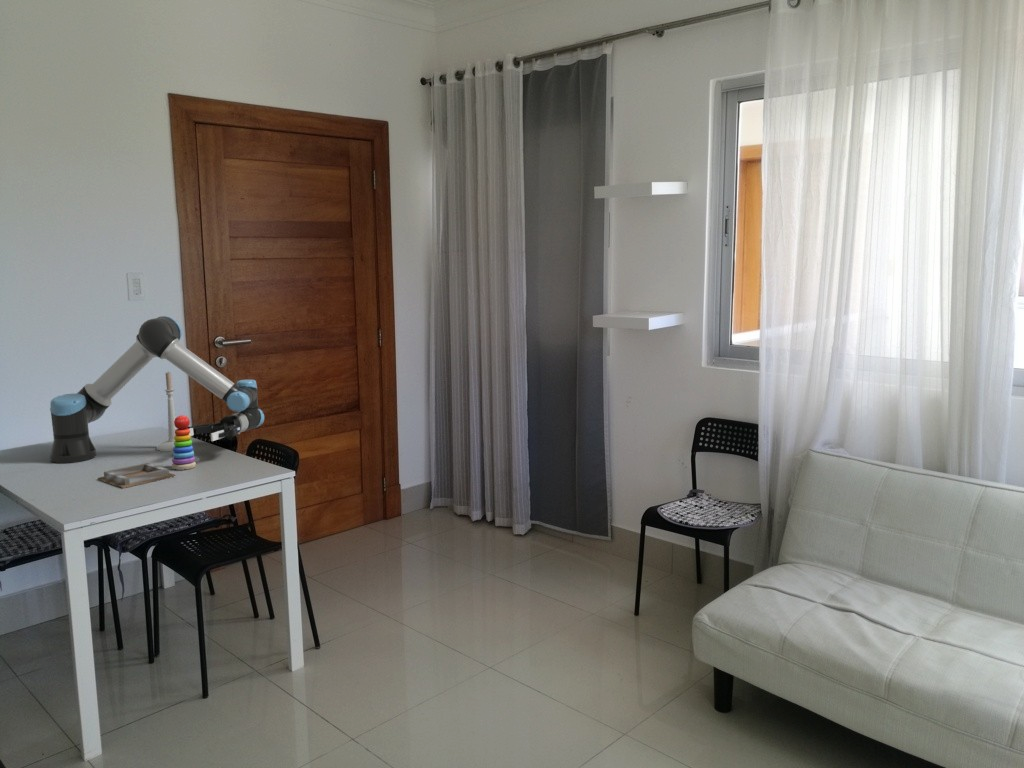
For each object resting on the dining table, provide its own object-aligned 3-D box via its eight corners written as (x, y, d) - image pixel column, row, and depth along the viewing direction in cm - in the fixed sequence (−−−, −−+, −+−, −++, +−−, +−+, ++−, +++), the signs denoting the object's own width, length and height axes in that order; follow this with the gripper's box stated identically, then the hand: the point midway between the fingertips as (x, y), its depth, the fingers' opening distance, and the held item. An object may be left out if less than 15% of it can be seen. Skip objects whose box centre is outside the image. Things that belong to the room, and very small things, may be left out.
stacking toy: (188, 471, 290) (183, 418, 287) (167, 470, 291) (163, 417, 288) (200, 465, 297) (196, 413, 294) (180, 464, 299) (176, 413, 296)
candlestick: (149, 450, 321) (142, 373, 316) (169, 443, 333) (163, 368, 329) (179, 451, 318) (172, 374, 314) (198, 444, 331) (192, 369, 326)
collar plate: (97, 479, 280) (97, 472, 280) (149, 468, 294) (149, 461, 294) (122, 488, 269) (122, 480, 268) (175, 476, 282) (175, 469, 282)
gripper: (261, 436, 315) (225, 448, 295) (206, 432, 323) (168, 444, 303) (260, 416, 314) (224, 427, 294) (205, 413, 322) (166, 424, 302)
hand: (195, 436), depth 299 cm, fingers open, 13 cm apart
